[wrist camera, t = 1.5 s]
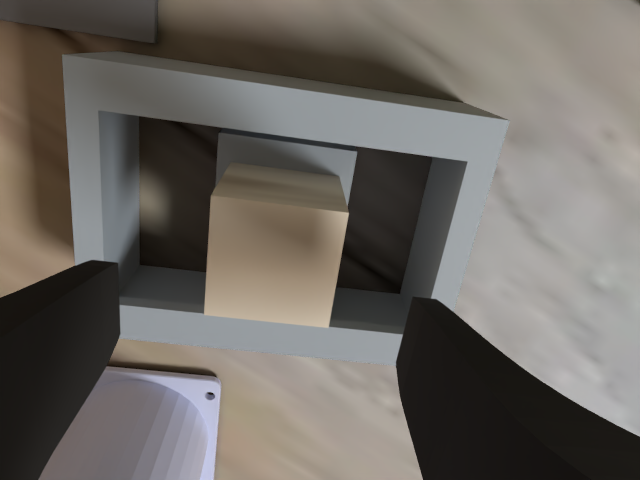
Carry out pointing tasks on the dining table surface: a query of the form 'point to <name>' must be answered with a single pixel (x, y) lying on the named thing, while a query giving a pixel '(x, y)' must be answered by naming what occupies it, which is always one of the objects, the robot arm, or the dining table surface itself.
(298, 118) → the slot box
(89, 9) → the mat
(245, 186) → the block
